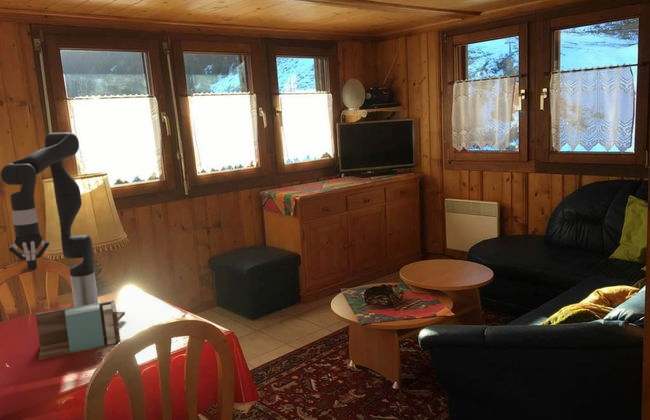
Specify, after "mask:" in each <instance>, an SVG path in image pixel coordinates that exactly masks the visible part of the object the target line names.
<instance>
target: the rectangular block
mask: <svg viewBox="0 0 650 420" xmlns="http://www.w3.org/2000/svg"><path fill="white" fill-rule="evenodd" d="M65 318H66V325H67V332H68V339H69V347H70V352H73V351H78V350H83V349H88V348H93V347H98V346H104V338H103V330H102V322H101V314H100V307H99V304H97V305H91V306H85V307H79V308H73V309H68V310H65Z"/></svg>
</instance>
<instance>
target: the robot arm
mask: <svg viewBox="0 0 650 420" xmlns="http://www.w3.org/2000/svg"><path fill="white" fill-rule="evenodd" d="M79 148H80V141H79V139H78V137H77V135H76V134H74V133H72V132H69V131H68V132H49V133H47V134H46V136H45V139H44V148H41V149H38V150H35V151H33V152H31V153H29V154H28V155H26V156H25V157H24V158H21V159H16V160H14V161H12V162H11V161H10V162H9V163H6V164H5V165H4V166H3V167H2V168H1V171H0V179H1V180H2V182H3V183H5V185H10V186H18V185H19V186H21V188H20V190H18V191H15V192H12V193H11V194H10V203H11V210H12V211H11V212H12V215H11V216H12V223H13V230H14V234H15V235H14V236H15V239H14V243H12V245H10V246H9V247H8V250H9V251H10V252H11V253H12V254H13V255H14V256H16V257H17V258H18V259H20V261H23V260H24V261H26V264H27V269H28V270H30V272H32V271H36V269H37V268H38V263H37V259H39V258H41V257H42V255H44V253H45V251H46V250H47V249H48V247H49V245H50V242H49V240H48V241H46V240H44V239H43V237H42V235H41V232H40V231H41V230H40V226H39V225H40V224H39V219H38V213H37V209H36V204H35V198H34V197H35V188H36V181H37V175H39V174H40V173H42V172H43V171H44V170H46V169H47V168H50V172H51V177H52V183H53V191H54V198H55V204H56V209H57V213H58V214H57V215H58V220H59V227H60V229H59V230H60V238H61V239H60V241H61V249H62V253H63V254H62V255H63V256H64V257H65V259H66V260H67V259H68V260H69V259H80V258H81V259H83V260H82V262H80V263H78V264H76V265H73V266H72V267H70V269H69V278H70V283H71V290H72V291H71V292H72V299H73V304H74V305H73V307H77V306H83V305H89V304H95V303H99V298H98V297H99V296H98V291H97V282H96V274H95V264H94V253H93V252H94V251H93V242H92V238H91V236H90V235H88V234H81V235H72V226H73V224H74V221H75V219H76V217H77V216H78V214H79V211H80V209H81V208H82V195H81V189H80V186H79V184H78V183H77V182H76V180H75V179H74V178H73V176H72V175H71V174H70V173H69V172H68V170H67V169H66V167H65V165H64V162H63V160H64V159H67V158H69V157H72V156H75V155H76V154H77V153H78V151H79ZM40 245H41V248H40V250H39V251H38V253H37V249H38V248H39V246H40ZM18 248H19V249H20V250H21V251H23V253H24V254H23V253H22V252H20V251H19V250H18Z"/></svg>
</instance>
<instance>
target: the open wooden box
mask: <svg viewBox="0 0 650 420" xmlns="http://www.w3.org/2000/svg"><path fill="white" fill-rule="evenodd" d="M97 304H99V307H100V314H101V322H102V330H103V338H104V346H98V347H93V348H88V349H83V350H78V351H73V352H70V347H69V339H68V332H67V325H66V318H65V310H68V309H73V308H79V307H85V306H91V305H97ZM117 312H118V310H117V307H116V303H115V300H114V299H113V300H108V301H102V302H98V303H95V304H89V305H83V306H77V307H74V306H72V307H67V308H61V309H60V308H59V309H55V310H49V311H43V312H37V313H35V318H36V319H35V321H36V326H37V327H36V328H37V333H38V339H39V346H40V347H39V348H40V349H39V355H38V360H39V361H40V360H44V359H46V360H47V359H50V358H51V359H52V358H55V357H60V356H65V355H69V354H70V355H71V354H74V353H80V352H85V351H90V350H91V351H92V350H95V349H99V348H106V347H110V346H116V345H119V344H118V343H119V342H120V343H121V339H120V338H121V336H120V330H119V321H118V319H117Z"/></svg>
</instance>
